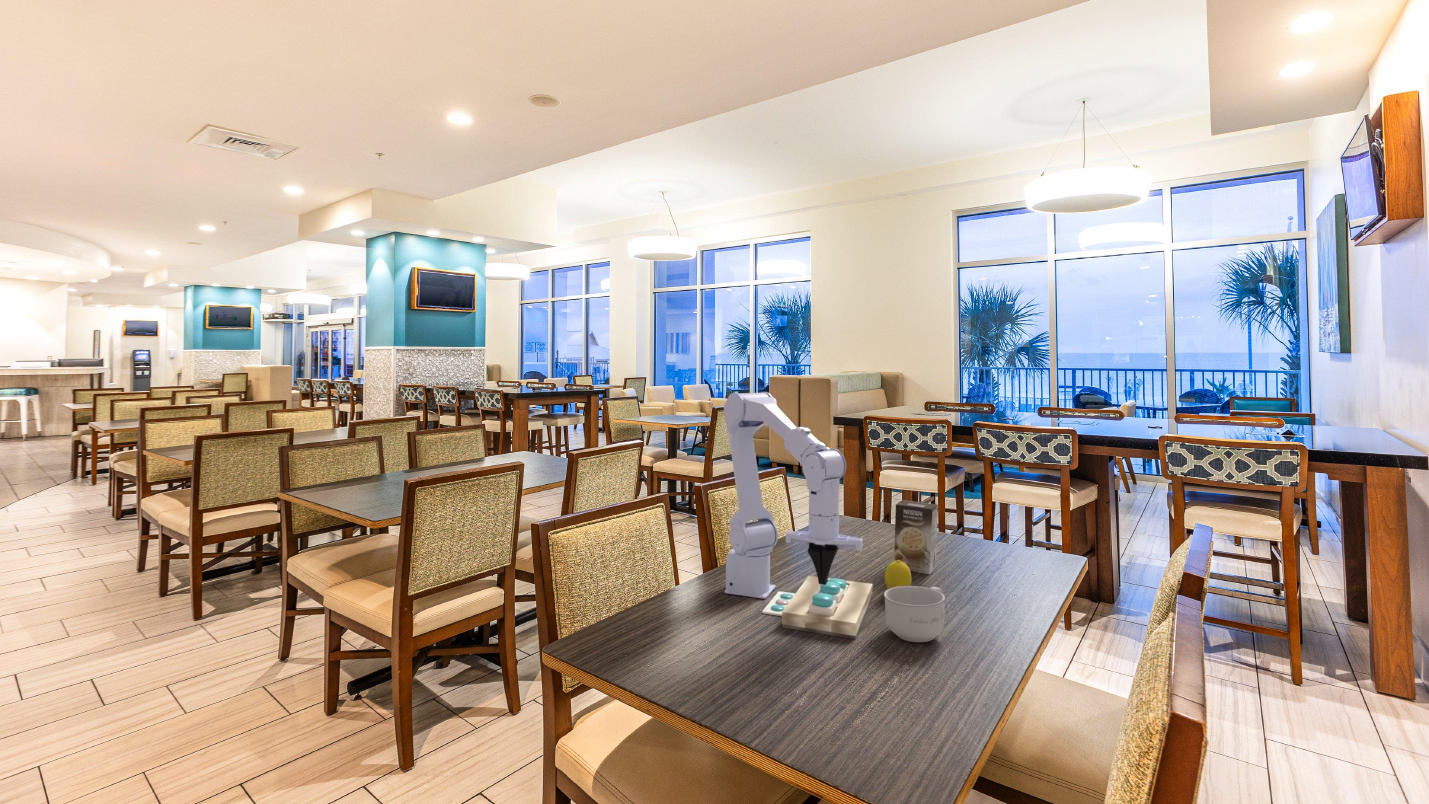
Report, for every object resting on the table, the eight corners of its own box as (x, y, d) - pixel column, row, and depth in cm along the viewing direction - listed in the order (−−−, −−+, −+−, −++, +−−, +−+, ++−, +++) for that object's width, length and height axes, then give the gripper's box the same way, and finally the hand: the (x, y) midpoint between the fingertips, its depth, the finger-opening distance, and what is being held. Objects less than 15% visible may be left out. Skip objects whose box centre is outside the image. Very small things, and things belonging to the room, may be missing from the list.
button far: (824, 598, 134) (824, 583, 133) (828, 591, 138) (828, 577, 137) (844, 601, 132) (845, 586, 132) (848, 594, 136) (848, 579, 136)
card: (762, 613, 127) (762, 610, 127) (778, 593, 139) (778, 590, 138) (786, 616, 126) (786, 614, 126) (800, 596, 137) (801, 593, 137)
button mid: (816, 602, 127) (817, 587, 127) (821, 595, 131) (821, 580, 131) (838, 605, 125) (838, 590, 125) (842, 598, 129) (842, 583, 129)
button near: (808, 615, 120) (808, 599, 120) (813, 607, 125) (814, 591, 124) (831, 619, 119) (831, 602, 119) (836, 610, 123) (836, 594, 123)
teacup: (913, 653, 110) (914, 608, 109) (871, 630, 120) (871, 589, 119) (969, 637, 116) (970, 595, 116) (924, 616, 126) (925, 577, 125)
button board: (781, 627, 121) (781, 611, 121) (808, 588, 141) (808, 575, 141) (855, 639, 116) (855, 623, 115) (872, 597, 136) (872, 583, 136)
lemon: (912, 601, 134) (913, 564, 133) (885, 599, 135) (886, 563, 134) (909, 592, 139) (910, 556, 138) (883, 590, 140) (884, 555, 140)
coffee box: (892, 568, 155) (893, 504, 154) (899, 561, 161) (901, 499, 160) (930, 575, 150) (932, 508, 149) (937, 567, 156) (938, 503, 155)
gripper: (781, 514, 119) (781, 584, 120) (858, 521, 114) (857, 594, 115) (791, 506, 126) (790, 573, 127) (864, 512, 121) (863, 582, 121)
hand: (823, 582), depth 121 cm, fingers closed
